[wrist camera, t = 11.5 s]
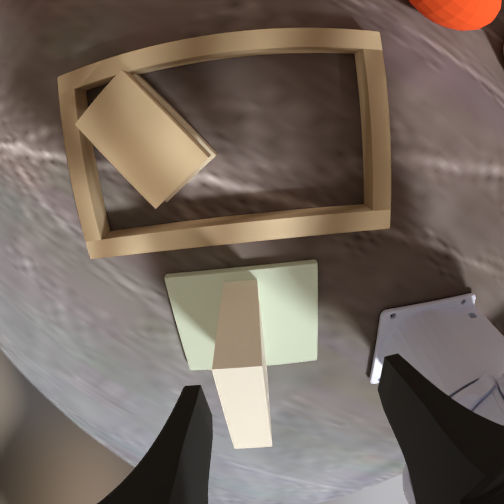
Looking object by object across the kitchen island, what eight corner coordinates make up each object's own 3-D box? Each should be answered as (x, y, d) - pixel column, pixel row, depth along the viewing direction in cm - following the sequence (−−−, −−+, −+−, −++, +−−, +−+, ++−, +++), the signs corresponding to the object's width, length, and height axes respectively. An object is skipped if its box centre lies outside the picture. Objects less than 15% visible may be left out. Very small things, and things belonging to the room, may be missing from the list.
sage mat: (315, 259, 20) (317, 263, 20) (315, 354, 24) (316, 359, 23) (166, 273, 21) (164, 277, 20) (191, 365, 24) (190, 370, 24)
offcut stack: (141, 75, 16) (118, 67, 13) (218, 153, 18) (211, 160, 15) (99, 122, 17) (70, 125, 14) (171, 197, 19) (155, 214, 16)
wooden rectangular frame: (369, 37, 15) (379, 31, 13) (380, 220, 19) (389, 228, 18) (70, 79, 15) (57, 77, 14) (100, 249, 20) (90, 259, 19)
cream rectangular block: (257, 279, 20) (262, 365, 13) (266, 359, 23) (272, 446, 16) (223, 282, 20) (211, 369, 13) (237, 361, 23) (234, 448, 16)
